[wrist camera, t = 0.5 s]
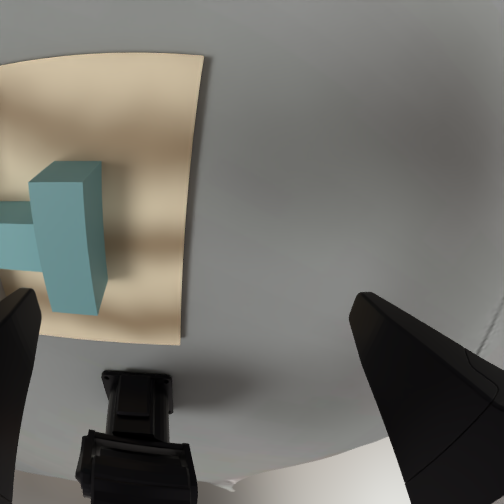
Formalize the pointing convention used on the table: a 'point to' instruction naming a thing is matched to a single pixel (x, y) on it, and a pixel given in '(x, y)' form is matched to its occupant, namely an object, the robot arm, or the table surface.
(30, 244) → the teal t-shaped block
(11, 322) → the robot arm
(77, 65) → the wooden base board
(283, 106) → the table surface
